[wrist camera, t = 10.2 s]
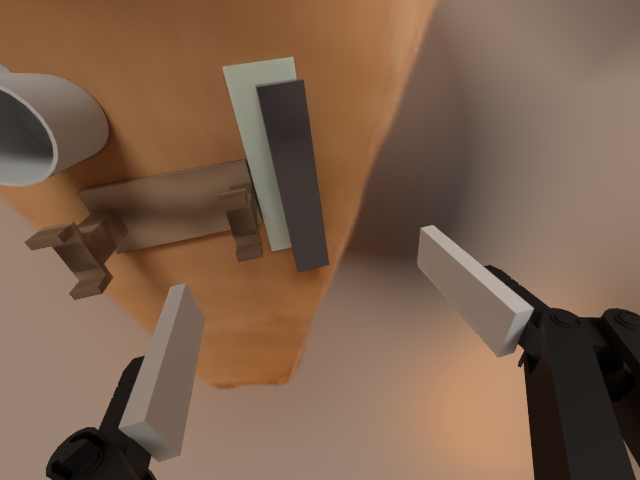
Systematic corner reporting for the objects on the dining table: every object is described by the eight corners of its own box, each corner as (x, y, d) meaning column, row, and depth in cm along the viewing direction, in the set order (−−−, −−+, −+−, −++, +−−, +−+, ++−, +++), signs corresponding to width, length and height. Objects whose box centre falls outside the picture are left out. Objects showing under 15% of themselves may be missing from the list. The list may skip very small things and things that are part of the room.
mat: (222, 66, 26) (221, 66, 26) (292, 56, 27) (293, 56, 27) (271, 250, 38) (272, 251, 38) (319, 239, 39) (320, 240, 39)
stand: (81, 189, 29) (15, 233, 21) (245, 159, 31) (243, 188, 23) (120, 249, 33) (78, 306, 25) (262, 219, 35) (265, 262, 27)
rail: (291, 246, 38) (297, 272, 33) (255, 85, 27) (256, 87, 22) (318, 240, 38) (329, 264, 33) (293, 79, 28) (303, 79, 23)
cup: (76, 170, 28) (13, 204, 20) (-44, 74, 22) (-188, 73, 15) (128, 129, 27) (82, 149, 20) (17, 19, 22) (-105, -11, 14)
